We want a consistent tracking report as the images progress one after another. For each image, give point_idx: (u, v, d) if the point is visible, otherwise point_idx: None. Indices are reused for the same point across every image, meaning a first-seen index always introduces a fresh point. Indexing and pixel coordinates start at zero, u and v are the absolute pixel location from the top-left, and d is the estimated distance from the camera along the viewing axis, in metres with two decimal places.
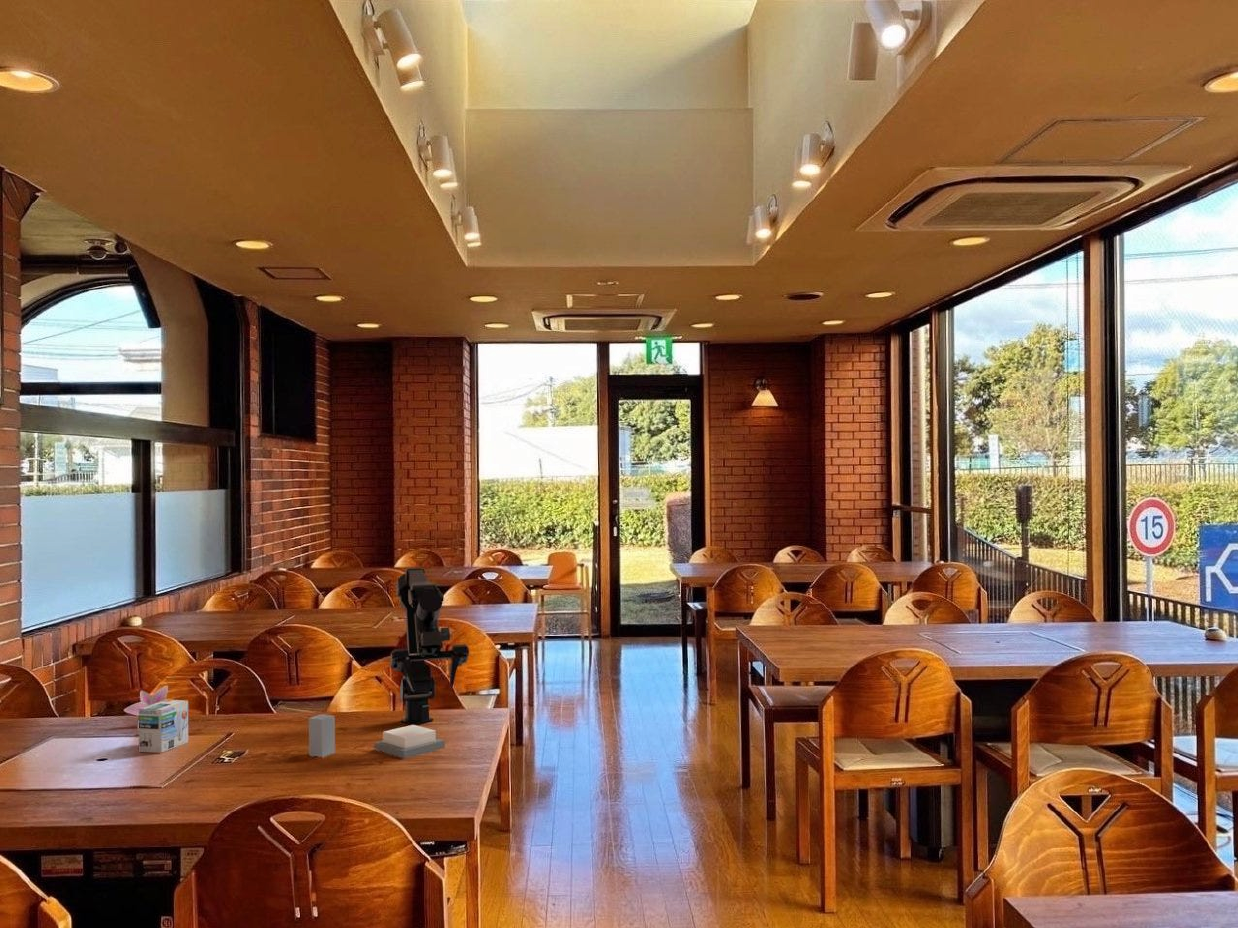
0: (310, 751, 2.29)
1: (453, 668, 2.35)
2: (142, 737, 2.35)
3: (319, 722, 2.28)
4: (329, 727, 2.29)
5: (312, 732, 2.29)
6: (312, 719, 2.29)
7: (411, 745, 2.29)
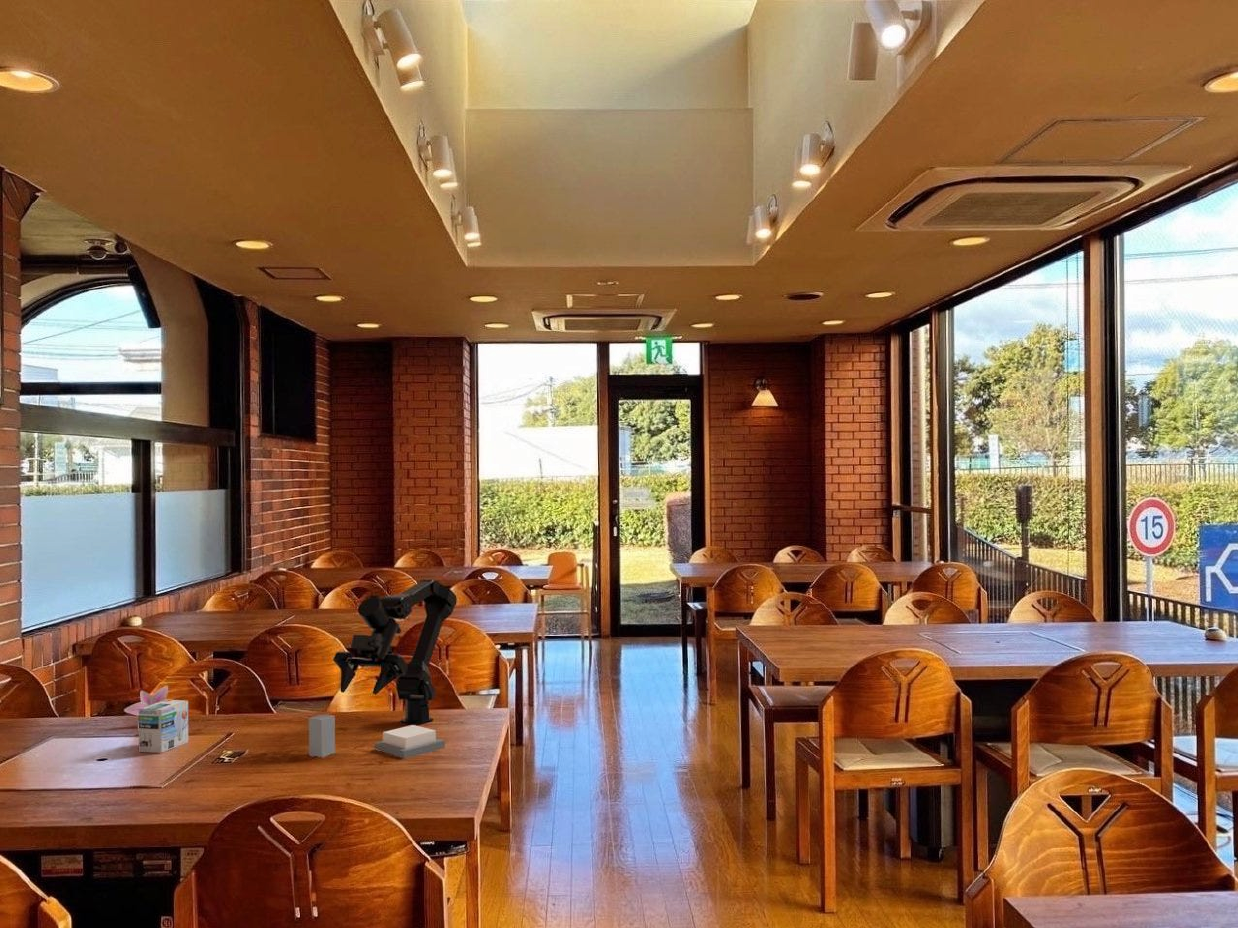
0: (310, 751, 2.29)
1: (380, 675, 2.35)
2: (142, 737, 2.35)
3: (319, 722, 2.28)
4: (329, 727, 2.29)
5: (312, 732, 2.29)
6: (312, 719, 2.29)
7: (412, 745, 2.29)
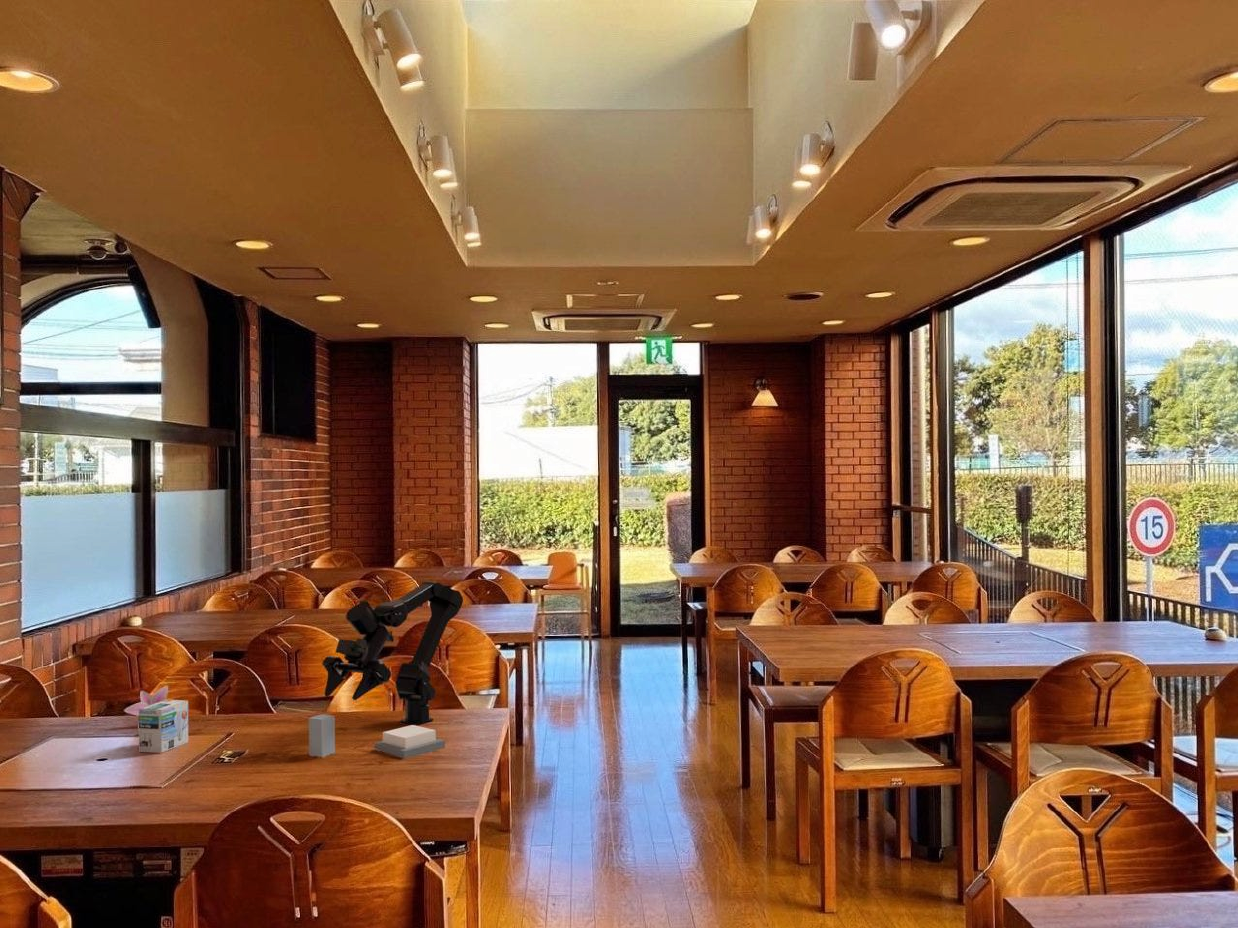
0: (310, 751, 2.29)
1: (361, 681, 2.35)
2: (142, 737, 2.35)
3: (319, 722, 2.28)
4: (329, 727, 2.29)
5: (312, 732, 2.29)
6: (312, 719, 2.29)
7: (412, 745, 2.29)
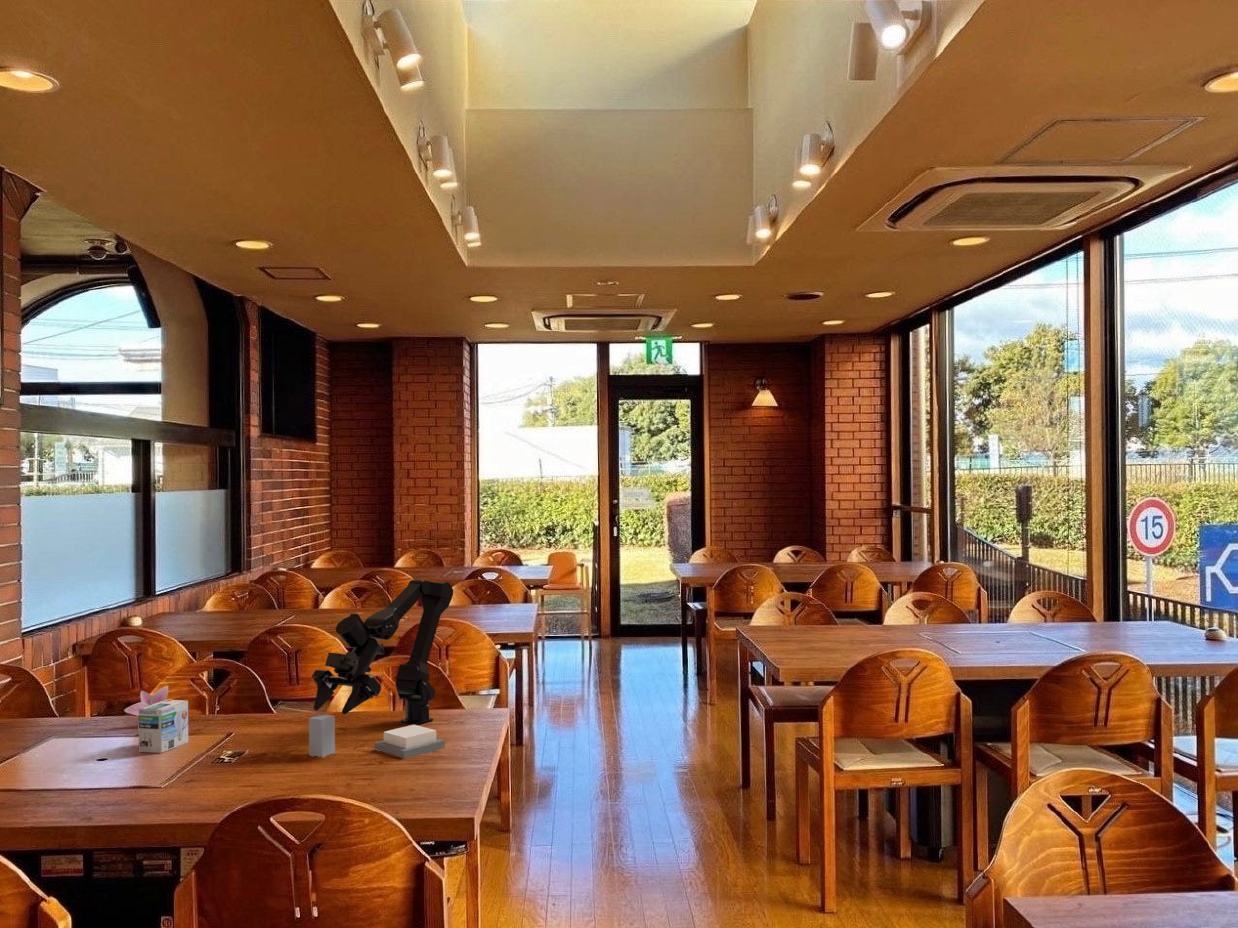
0: (310, 751, 2.29)
1: (351, 695, 2.32)
2: (142, 737, 2.35)
3: (319, 722, 2.28)
4: (329, 727, 2.29)
5: (312, 732, 2.29)
6: (312, 719, 2.29)
7: (412, 745, 2.29)
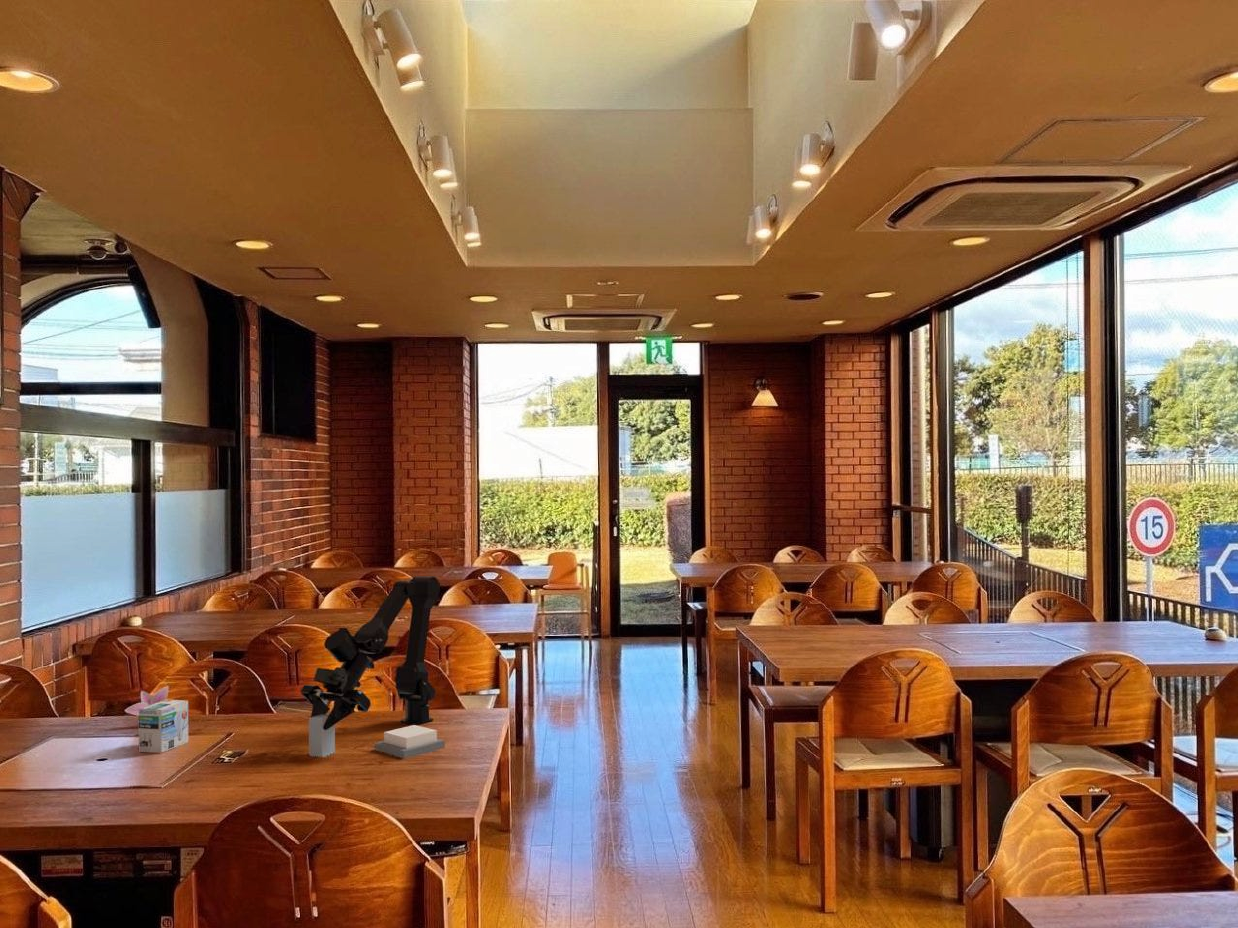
0: (310, 751, 2.29)
1: (332, 710, 2.29)
2: (142, 737, 2.35)
3: (319, 722, 2.28)
4: None
5: (312, 732, 2.29)
6: (312, 719, 2.29)
7: (413, 745, 2.29)
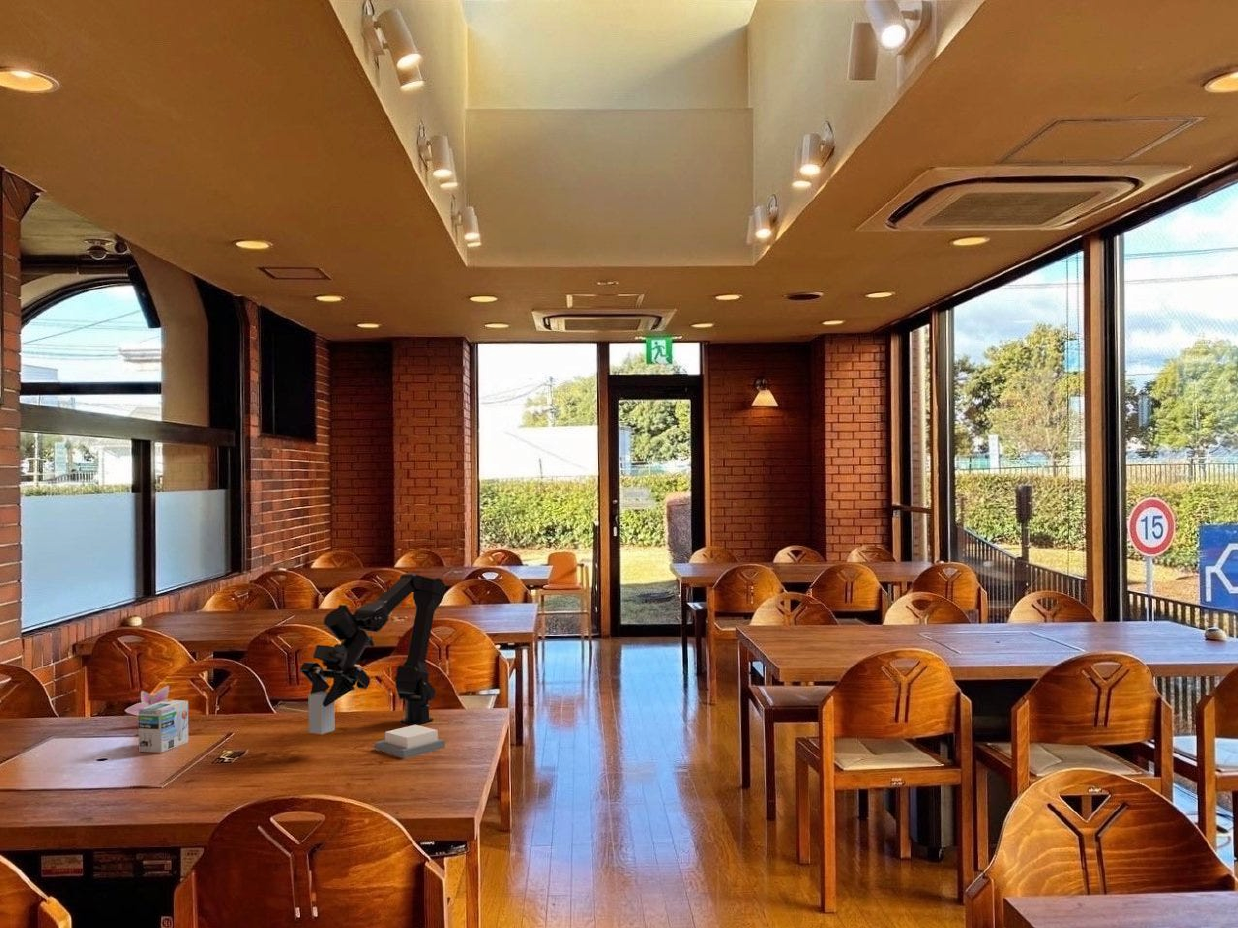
0: (310, 727, 2.29)
1: (332, 687, 2.30)
2: (142, 737, 2.35)
3: (319, 699, 2.28)
4: (329, 704, 2.30)
5: (312, 709, 2.29)
6: (312, 696, 2.29)
7: (413, 745, 2.29)
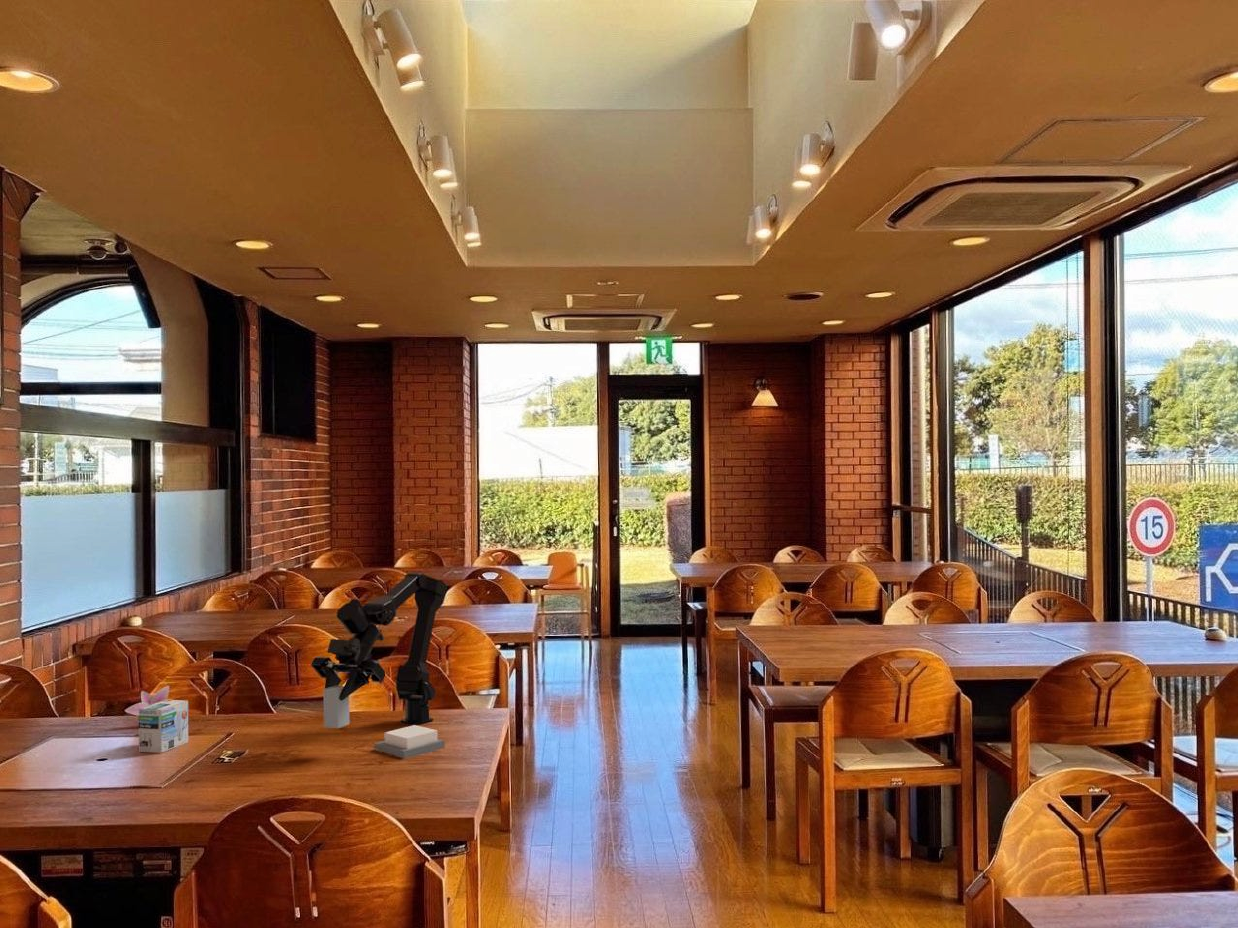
0: (325, 722, 2.29)
1: (348, 681, 2.30)
2: (142, 737, 2.35)
3: (335, 693, 2.28)
4: None
5: (327, 703, 2.28)
6: (327, 690, 2.28)
7: (413, 745, 2.29)
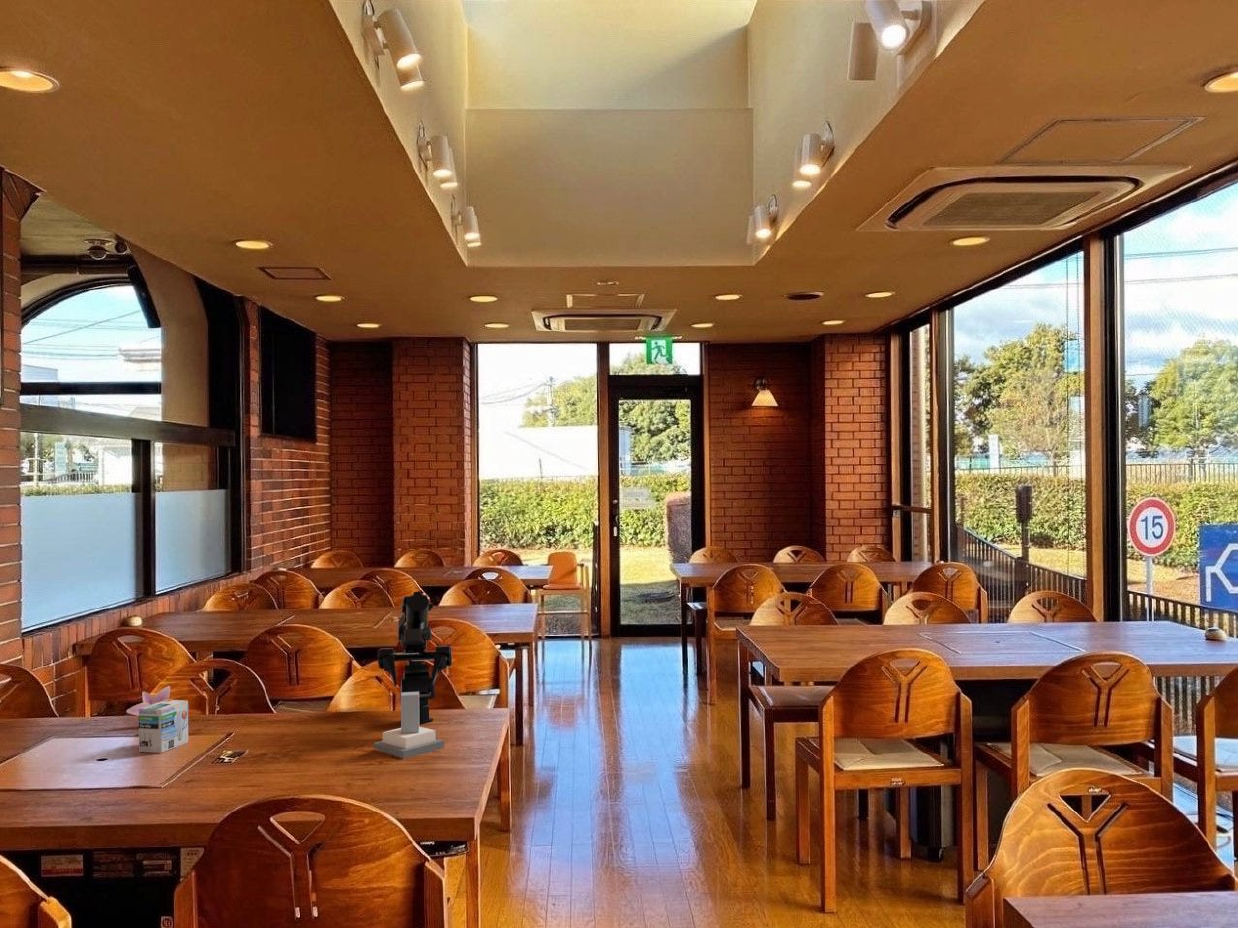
0: (403, 728, 2.32)
1: (434, 666, 2.46)
2: (142, 737, 2.35)
3: (415, 697, 2.32)
4: None
5: (405, 709, 2.32)
6: (405, 696, 2.32)
7: (412, 745, 2.29)
